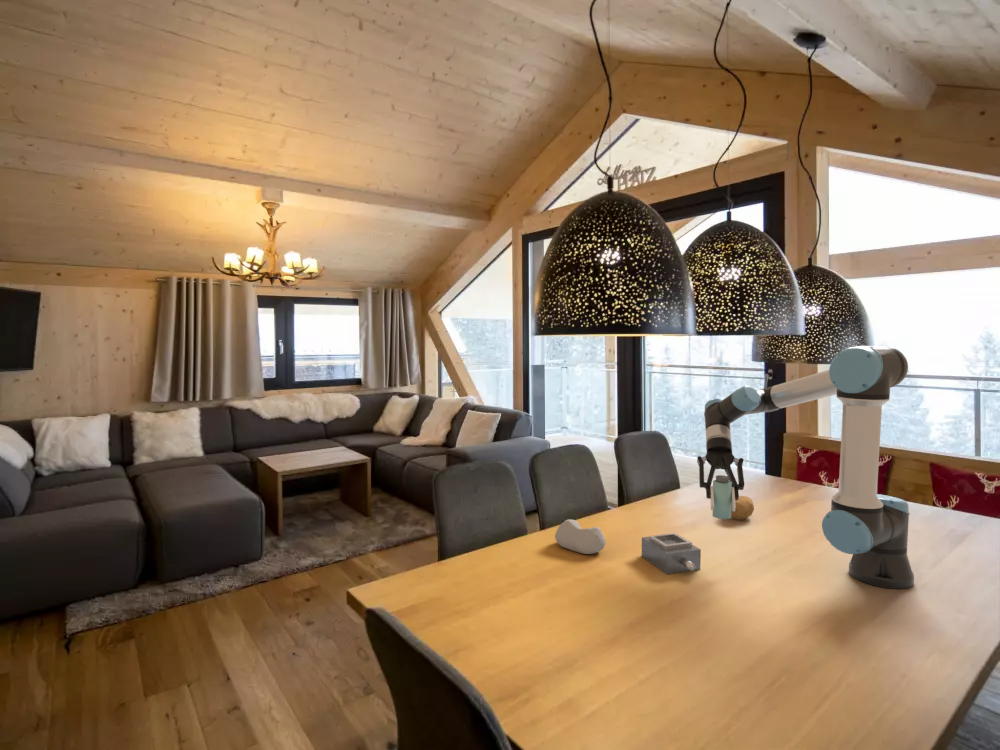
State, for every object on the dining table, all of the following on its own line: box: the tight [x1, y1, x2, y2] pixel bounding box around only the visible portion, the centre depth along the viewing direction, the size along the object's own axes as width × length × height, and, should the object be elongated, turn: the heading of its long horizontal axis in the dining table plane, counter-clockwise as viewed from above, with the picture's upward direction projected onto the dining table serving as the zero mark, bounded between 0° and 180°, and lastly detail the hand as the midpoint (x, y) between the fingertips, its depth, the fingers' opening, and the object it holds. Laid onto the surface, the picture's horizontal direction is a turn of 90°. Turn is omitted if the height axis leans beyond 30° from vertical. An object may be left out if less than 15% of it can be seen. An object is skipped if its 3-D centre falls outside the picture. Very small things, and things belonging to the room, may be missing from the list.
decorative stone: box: [554, 518, 607, 555], centre depth 183 cm, size 17×10×10 cm
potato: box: [730, 495, 755, 520], centre depth 211 cm, size 10×14×8 cm
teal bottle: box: [712, 474, 732, 520], centre depth 170 cm, size 5×5×12 cm
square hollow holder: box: [641, 532, 702, 575], centre depth 170 cm, size 20×11×7 cm, turn 16°
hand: (723, 508), depth 167 cm, fingers closed on teal bottle, 5 cm apart
